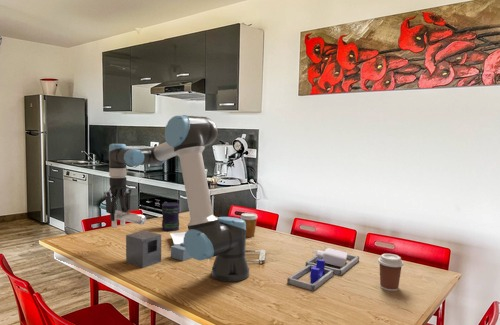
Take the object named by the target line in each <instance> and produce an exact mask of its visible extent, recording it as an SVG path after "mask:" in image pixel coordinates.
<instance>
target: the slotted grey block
mask: <svg viewBox="0 0 500 325" xmlns="http://www.w3.org/2000/svg"><path fill="white" fill-rule="evenodd" d="M125 260H126V262H125V263H127V264H130V265H133V266H136V267H139V268H141V269H143V268H146V267H150V266H153V265H156V264H159V263H161V262H162V234H161V233H156V232H152V231H148V230H141V231H137V232H134V233H129V234H126V235H125Z"/></svg>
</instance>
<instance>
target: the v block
mask: <svg viewBox="0 0 500 325" xmlns="http://www.w3.org/2000/svg"><path fill="white" fill-rule="evenodd" d="M170 258H173V259H175V260H179V261H182V262H184V261H188V260H189V259H193V258H192V257H191V256H190V255H189V254H188V253H187V251H186V249H185V246H184V242H183V243H180V246H178V245H174V244H173V245H171V246H170Z"/></svg>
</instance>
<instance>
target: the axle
mask: <svg viewBox="0 0 500 325" xmlns="http://www.w3.org/2000/svg"><path fill="white" fill-rule="evenodd" d="M115 214H117V221H120V220H123V221H125V222H129V223H132V224H138V225H145V223H146V222H147V217H146V215H143V214H137V213H133V212H129V211H128V212H123V211H122V210H117V209H116V210H115Z"/></svg>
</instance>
